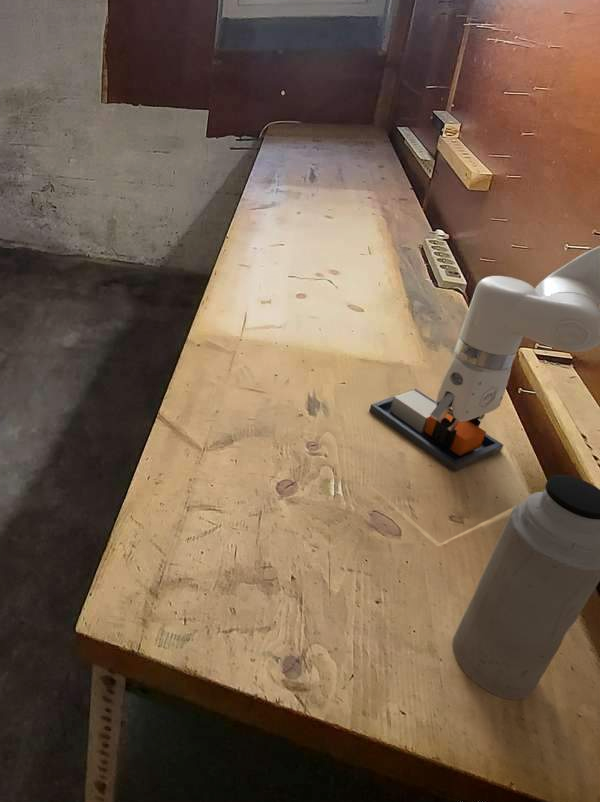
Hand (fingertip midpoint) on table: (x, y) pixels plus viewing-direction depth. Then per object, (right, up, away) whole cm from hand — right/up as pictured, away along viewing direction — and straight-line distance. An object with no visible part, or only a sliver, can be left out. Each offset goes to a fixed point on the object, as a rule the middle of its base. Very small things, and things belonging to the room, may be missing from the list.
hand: (452, 437), depth 97 cm
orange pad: (0, 0, 0) cm, 0 cm away
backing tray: (-1, 0, +4) cm, 4 cm away
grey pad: (-3, +2, +6) cm, 7 cm away
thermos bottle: (-17, -18, -31) cm, 39 cm away
